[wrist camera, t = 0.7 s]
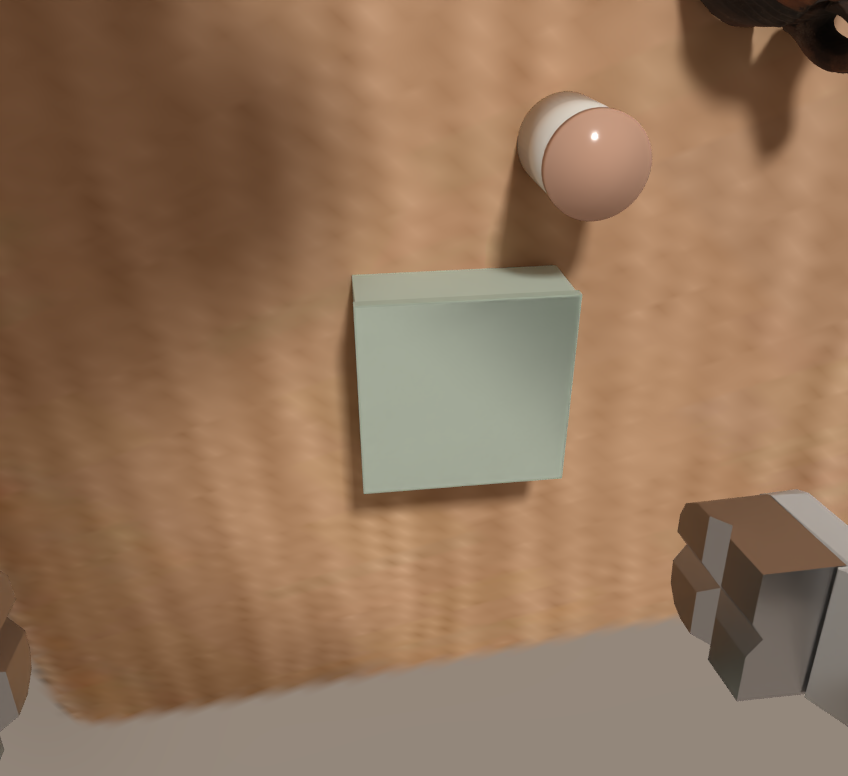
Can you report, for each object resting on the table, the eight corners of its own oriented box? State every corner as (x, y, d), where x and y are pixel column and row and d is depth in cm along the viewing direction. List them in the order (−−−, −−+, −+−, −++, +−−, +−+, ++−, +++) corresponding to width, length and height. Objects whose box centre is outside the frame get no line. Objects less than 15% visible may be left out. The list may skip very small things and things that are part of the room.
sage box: (349, 271, 43) (353, 306, 38) (556, 261, 44) (582, 294, 40) (359, 447, 49) (363, 494, 45) (540, 433, 50) (561, 478, 46)
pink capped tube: (517, 91, 39) (548, 111, 34) (614, 87, 39) (659, 106, 34) (513, 191, 41) (541, 224, 36) (604, 185, 42) (644, 218, 37)
